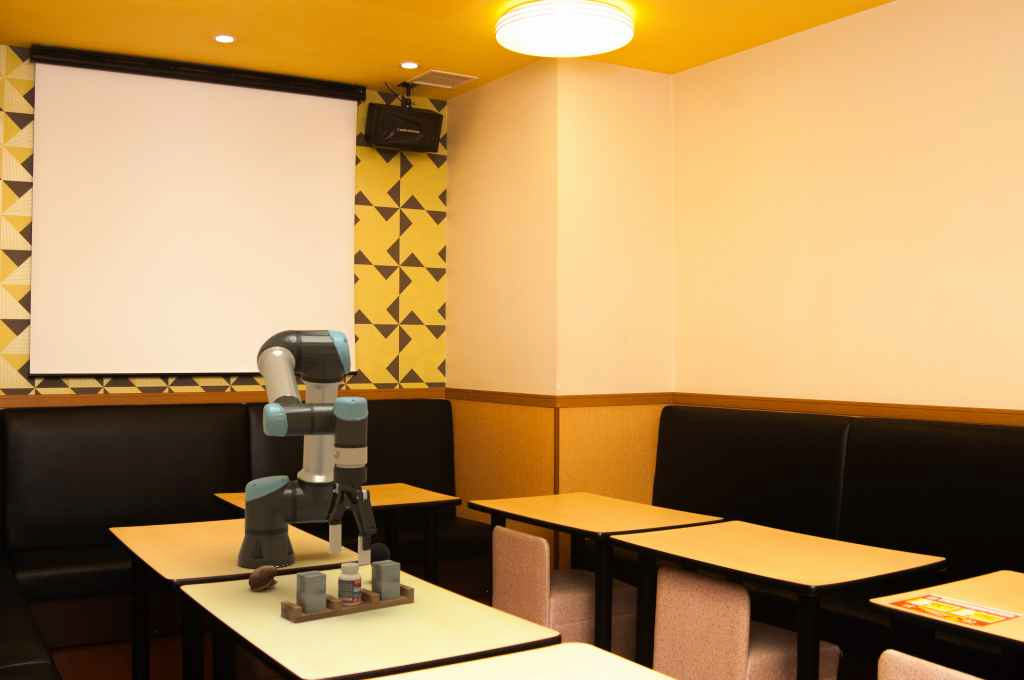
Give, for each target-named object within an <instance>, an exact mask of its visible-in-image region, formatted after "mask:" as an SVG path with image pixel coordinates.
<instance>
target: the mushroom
mask: <svg viewBox="0 0 1024 680" xmlns="http://www.w3.org/2000/svg"><path fill="white" fill-rule="evenodd" d="M277 574H278V567H275V566H269V565H266V566H261V567H259V568H254V570H253V571H252V572H251V574H250V575H249V577H248V586H249V588H250V589H251V590H252V591H254V592H258V591H261V590H262V589H267V590H269V589H271V588H273V587H274V586H276V585H277V584H278V583H279V581H278V580H276V579H275V577H276V575H277Z"/></svg>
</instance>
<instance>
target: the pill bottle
mask: <svg viewBox="0 0 1024 680" xmlns="http://www.w3.org/2000/svg"><path fill="white" fill-rule="evenodd" d="M340 565H341V566H340V567H341V568H340V571H341V573H339V574H338V578H337V599H340V600H342V606H355V605H359V604H360V603H361V589H362V574H361V573H360V572H359V570H360V565H358V562H344V563H341V564H340Z"/></svg>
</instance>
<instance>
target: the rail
mask: <svg viewBox="0 0 1024 680" xmlns="http://www.w3.org/2000/svg"><path fill="white" fill-rule="evenodd" d="M370 586H371V590H370V589H367V588H365V587H361V603H360V604H359V605H355V606H342V600H340V599H338V597H337V598H336V597H335V596H333V595H330V594H328V593H327V574H326V573H323V572H321V571H318V570H311V571H303V572H297V573H296V589H295V590H296V594H295V595H296V596H295V597H296V599H295V600H296V603H294V602H291V601H290V600H284V601H281V602H280V617H282V618H283V619H285V620H288V621H290V622H291V623H294V624H299V623H305V622H309V621H316V620H323V619H327V618H332V617H334V618H335V617H338V616H344V615H350V614H356V613H360V612H367V611H372V610H378V609H384V608H389V607H390V608H391V607H396V606H399V605H400V606H401V605H406V604H411V603H415V588H413V587H411V586H409V585H405V584H402V583H401V563H400V562H398V561H397V562H396V561H394V560H391V559H389V560H386V561H379V562H372V567H371V585H370Z"/></svg>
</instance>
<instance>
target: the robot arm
mask: <svg viewBox="0 0 1024 680" xmlns="http://www.w3.org/2000/svg"><path fill="white" fill-rule="evenodd" d="M258 350H259V351H258V352H257V356H256V366H257V369H258V372H259V374H260V375H261V376H262V377H263V380H264V385H265V386H264V387H265V390H266V394H267V400H268V403H267V404H265V405H264V407H263V410H262V411H263V413H262V426H263V429H262V430H263V433H264V434H265V435H266V436H268V437H269V436H270V437H281V438H282V437H291V436H292V437H294V436H304V437H303V460H302V461H303V462H302V469H301V470H299V471H298V473H297V475H296V476H297V477H296V480H290V478H289V476H288V475H273V476H266V477H260V478H256V479H253V480H251V481H249V482H248V483H247V484H246V485H245V491H244V492H245V494H244V502H245V503H244V537H243V540H242V543H241V545H240V548H239V552H238V555H237V565H238V566H239V565H240V567H242V566H244V567H243V568H246V567H251V568H250V569H257V568H259V567H261V566H266V565H269V566H275V567H276V566H283V565H287V564H290V563H293V562H294V561H295V559H296V558H295V556H296V555H295V551H294V548H293V544H292V542H291V539H290V535H289V524H305V523H306V524H307V523H326V522H327V524H328V525H329V528H328V529H329V530H328V532H329V534H328V536H329V537H328V539H329V541H328V543H329V544H328V545H329V547H328V553H329V554H331V555H333V554H340V553H342V523H343V521H342V517H343V515H344V513H345V512H346V509H347V508H349V510H350V511H352V514H353V517H354V520H355V523H356V525H357V527H358V531H359V533H358V534H357V537H358V538H357V541H358V542H357V543H358V544H357V563H358V565H359V566H366V565H371V564H370V550H371V545H372V544H371V543H372V541H371V540H372V535H375V534H377V533H378V529H377V524H376V520H375V516H374V512H373V507H372V503H371V492H370V489H363V488H362V485H363V484H365V483H366V482H367V481H368V467H367V466H366V464H367V463H368V417H369V416H368V415H369V410H368V400H367V399H366V398H365V397H362V396H361V397H360V396H341V397H338V396H339V395H338V394H339V393H338V391H339V390H338V389H339V386H340V385H341V384H342V383H343V382H344V380H345V375H348V374H350V373H351V367H352V363H351V361H352V360H351V351H350V345H349V341H348V338H347V336H346V334H345V333H344V332H343V331H340V330H332V329H331V330H330V329H317V330H316V329H312V330H311V329H310V330H309V329H301V330H300V329H298V330H297V329H288V330H283V331H280V332H277V333H275V334H273V335H271V336H270V337H269V338H268V339H267V340H266V341H264V342H263V343H262V345H261V346H260V348H259V349H258ZM295 374H300V381H301V382H302V383H303V384H304V385H305V403H304V402H302V398H301V394H300V390H299V387H298V383H297V382H298V381H297V379H296V375H295ZM294 563H295V562H294ZM294 563H293V564H294ZM290 565H291V564H290ZM287 566H288V565H287ZM283 567H284V566H283ZM276 568H277V567H276Z"/></svg>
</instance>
